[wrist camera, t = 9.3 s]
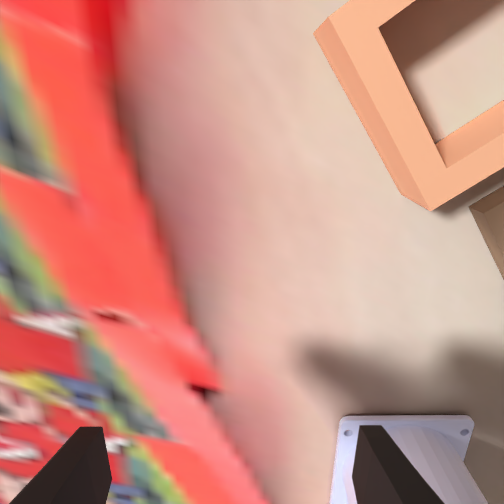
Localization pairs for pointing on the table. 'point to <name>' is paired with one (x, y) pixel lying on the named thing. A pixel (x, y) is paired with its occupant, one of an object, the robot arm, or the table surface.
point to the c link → (405, 110)
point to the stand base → (492, 224)
